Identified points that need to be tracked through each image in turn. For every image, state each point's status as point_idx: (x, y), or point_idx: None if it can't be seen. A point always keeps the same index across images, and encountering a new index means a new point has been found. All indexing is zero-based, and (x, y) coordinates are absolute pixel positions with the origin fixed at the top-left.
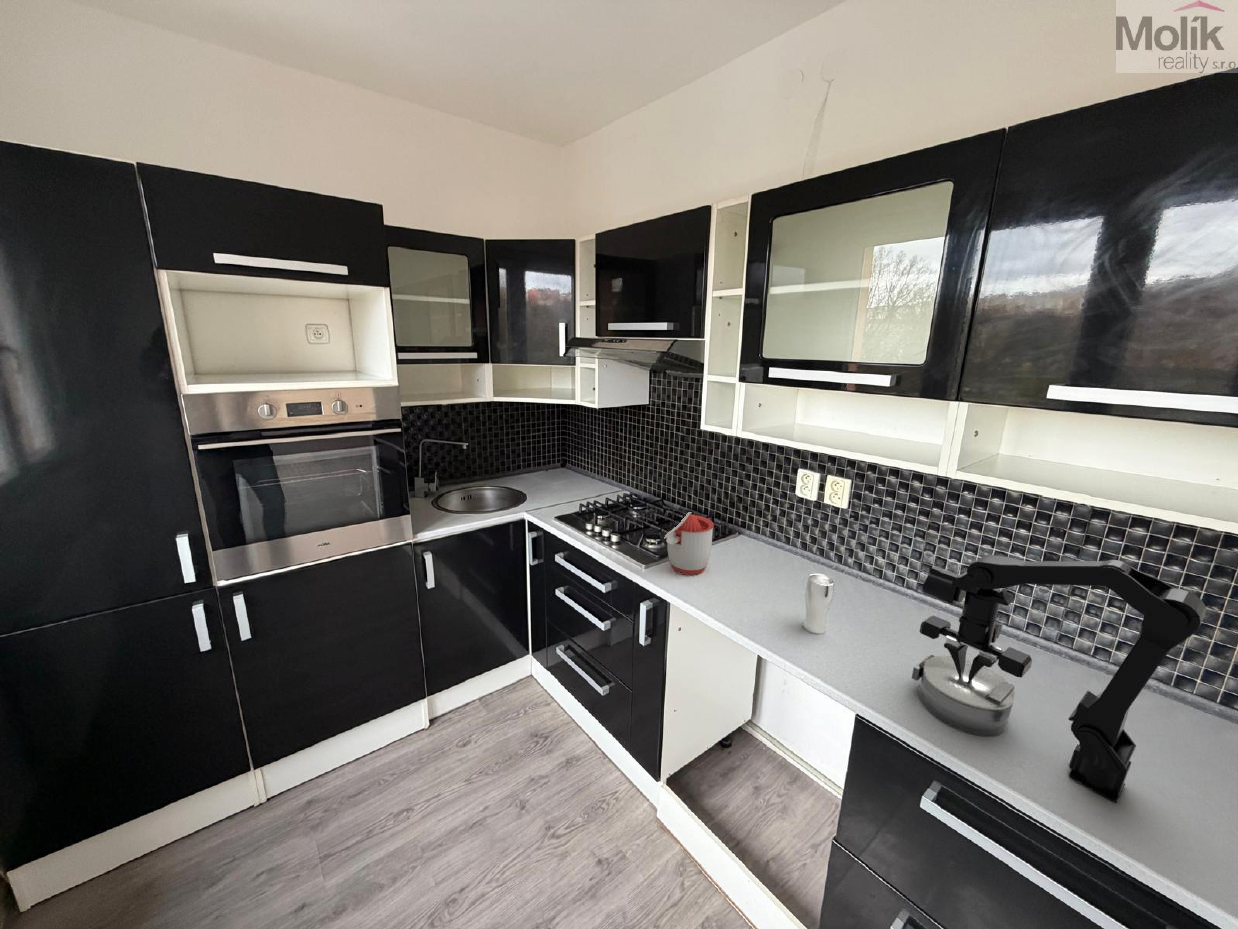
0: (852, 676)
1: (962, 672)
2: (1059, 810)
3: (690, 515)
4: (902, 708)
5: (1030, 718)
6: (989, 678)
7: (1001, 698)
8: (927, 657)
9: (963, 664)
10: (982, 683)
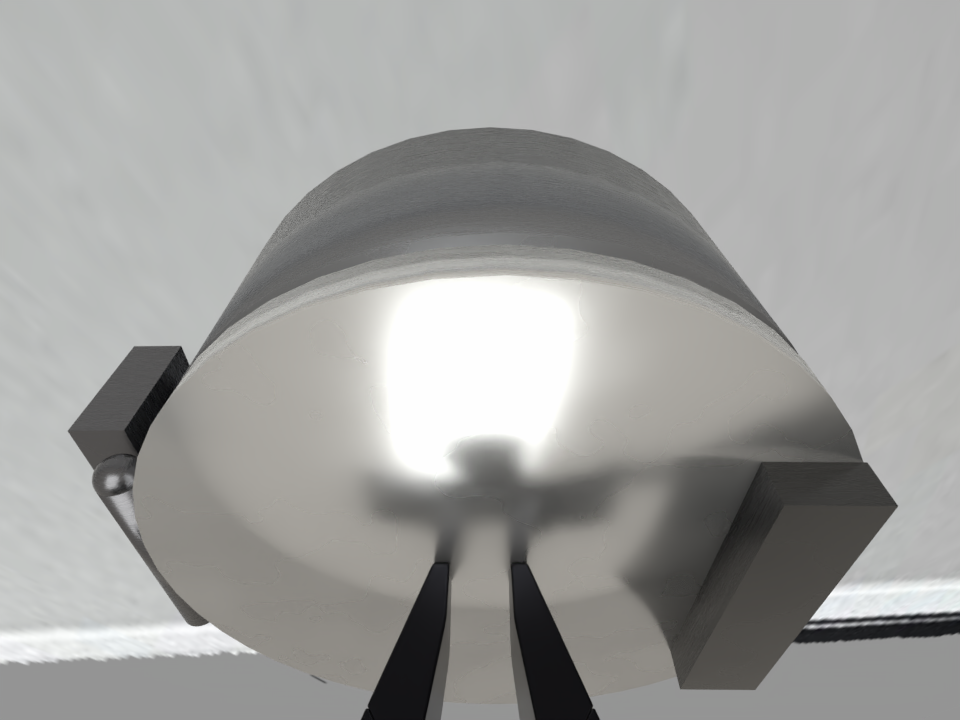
0: (67, 549)
1: (449, 619)
2: (886, 566)
3: None
4: None
5: (899, 78)
6: (642, 461)
7: (763, 667)
8: (90, 453)
9: (434, 701)
10: (605, 551)
